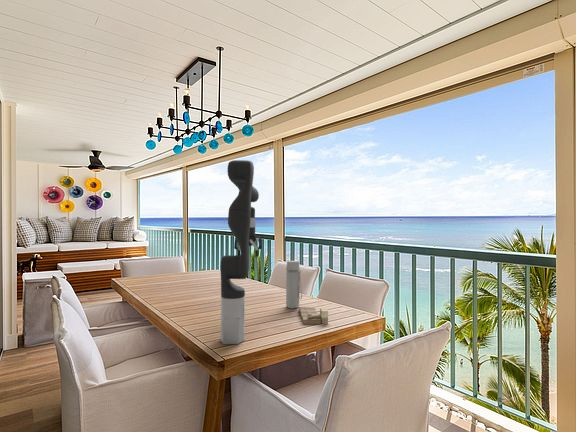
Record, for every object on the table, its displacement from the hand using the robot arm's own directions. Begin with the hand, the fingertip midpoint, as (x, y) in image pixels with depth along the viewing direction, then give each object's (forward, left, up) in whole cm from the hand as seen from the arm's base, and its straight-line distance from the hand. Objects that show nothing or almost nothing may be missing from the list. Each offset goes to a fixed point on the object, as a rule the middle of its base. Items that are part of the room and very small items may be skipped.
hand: (247, 257), depth 171 cm
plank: (-13, -31, -28) cm, 44 cm away
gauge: (-21, -34, -28) cm, 49 cm away
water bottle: (+5, -25, -28) cm, 38 cm away
